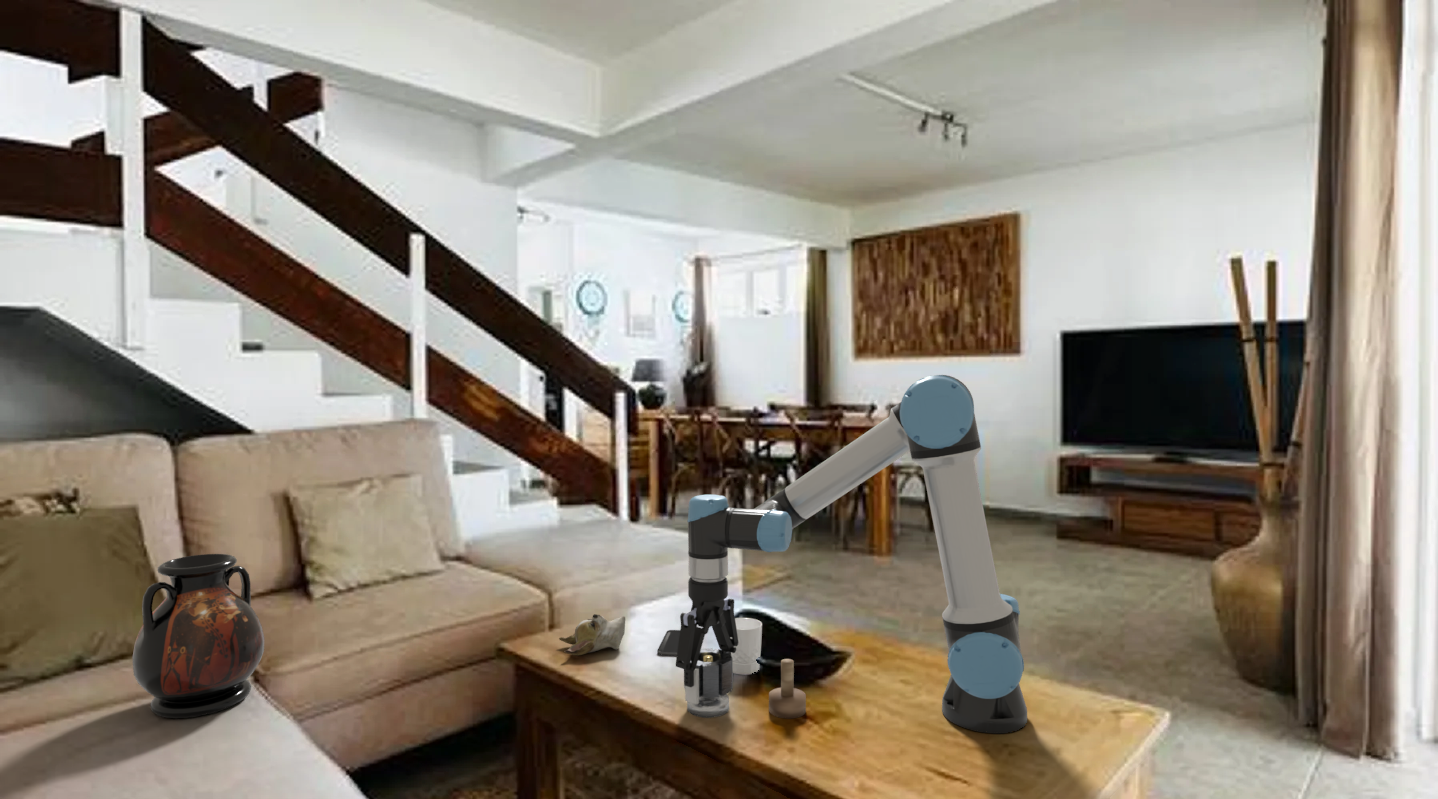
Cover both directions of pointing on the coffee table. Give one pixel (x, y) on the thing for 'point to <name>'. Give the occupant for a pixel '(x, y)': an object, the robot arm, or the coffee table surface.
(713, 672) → the collar
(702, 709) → the brass-tipped marble post
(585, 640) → the ceramic sculpture
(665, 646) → the phone
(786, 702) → the stand
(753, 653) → the white cup
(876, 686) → the coffee table surface
